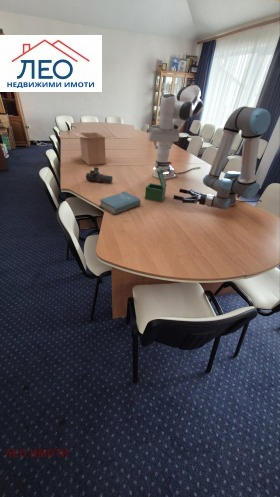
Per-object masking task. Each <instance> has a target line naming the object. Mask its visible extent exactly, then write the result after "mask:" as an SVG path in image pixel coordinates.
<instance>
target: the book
mask: <svg viewBox="0 0 280 497" xmlns="http://www.w3.org/2000/svg"><path fill="white" fill-rule="evenodd" d="M99 201H100V205H99V207H101V208H103V209H104V210H105V211H107V212H109V213H111V214H113V215H116V214H119V213H122V212H124V211H128V210H130V209H132V208H133V209H134V208H135V207H138V206H140V205H141V198H139V197H137V196H135V195H133V194H131V193H128V192H126V191H122V192H119V193H116V194H113V195H110V196H106V197H104V198H100V199H99Z"/></svg>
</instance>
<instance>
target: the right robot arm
mask: <svg viewBox="0 0 280 497" xmlns="http://www.w3.org/2000/svg"><path fill="white" fill-rule="evenodd" d="M271 117H272V116H271V113H270V112H269V110H267V109H264V108H262V107H253V106H246V105H243V106H240V107H238V108H236V109H235V110H234V111H233V112H232V113H230V115H229V116H228V118H227V120H226V121H225V124H224V126H223V128H222V131H223V134H222V136H221V139H220V142H219V145H218V148H217V150H216V152H215V156H214V158H213V161H212V164H211V166H210V169H209V171H208V174H205V175H204V177H203V178H202V184H203V185H204V186H206V187H207V188H209V189H211V190H213V191H214V192H216V195H212V194H206V193H201V192H199V191H197V190H194V189H191V188H190V189H184V188H179V190H178V193H181V194H184V195H189V196H188V197H187V196H186V197H184V196H181V195H176V194H173V197H172V199H173V200H176V201H181V202H182V204H195V205H197V204H199V205H201V206H206V207H208V208H209V207H210V208H215V209H219V210H224V211H225V210H226V211H227V210H228V209H229V207H234V206H236V204H237V202H239V203H256V202H261V203H262V200H261V199H257V200H249V199H252V198H253V197H255V196H256V195H257V194H258V192H259V190H260V186H261V185H260V183H258V182H257V181H258V180H257V179H258V177H257V175H255V174H256V168H257V162H258V161H257V160H258V154H259V146H260V140H261V138H262V137H263V136H264V133H266V132H267V131H268V128H269V127H270V125H271V120H272V119H271ZM239 133H240V134H239ZM237 135H240V138H241V139H242V140H243V142H242V151H241V152H242V153H241V163H240V164H241V165H240V171H233V170H231V171H226V172H225V173H224V176H223V178H220V177H221V175H222V172H223V169H224V167H225V164H226V162H227V160H228V158H229V154H230V152H231V150H232V146H233V144H234V141H235V139H236V137H237ZM237 195H238V196H240V197H242V198H243V199H246V200H239V199H237V198H236V197H237Z"/></svg>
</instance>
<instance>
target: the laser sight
mask: <svg viewBox="0 0 280 497" xmlns="http://www.w3.org/2000/svg"><path fill="white" fill-rule="evenodd" d="M85 179H86V180H87V181H90V182H97V183H107V184H108V183H109V184H112V183H113V175H106V174H104V173H100V171H99V167H95V166H94V167H93V170H91V169H90V170H89V172H86V174H85Z"/></svg>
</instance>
